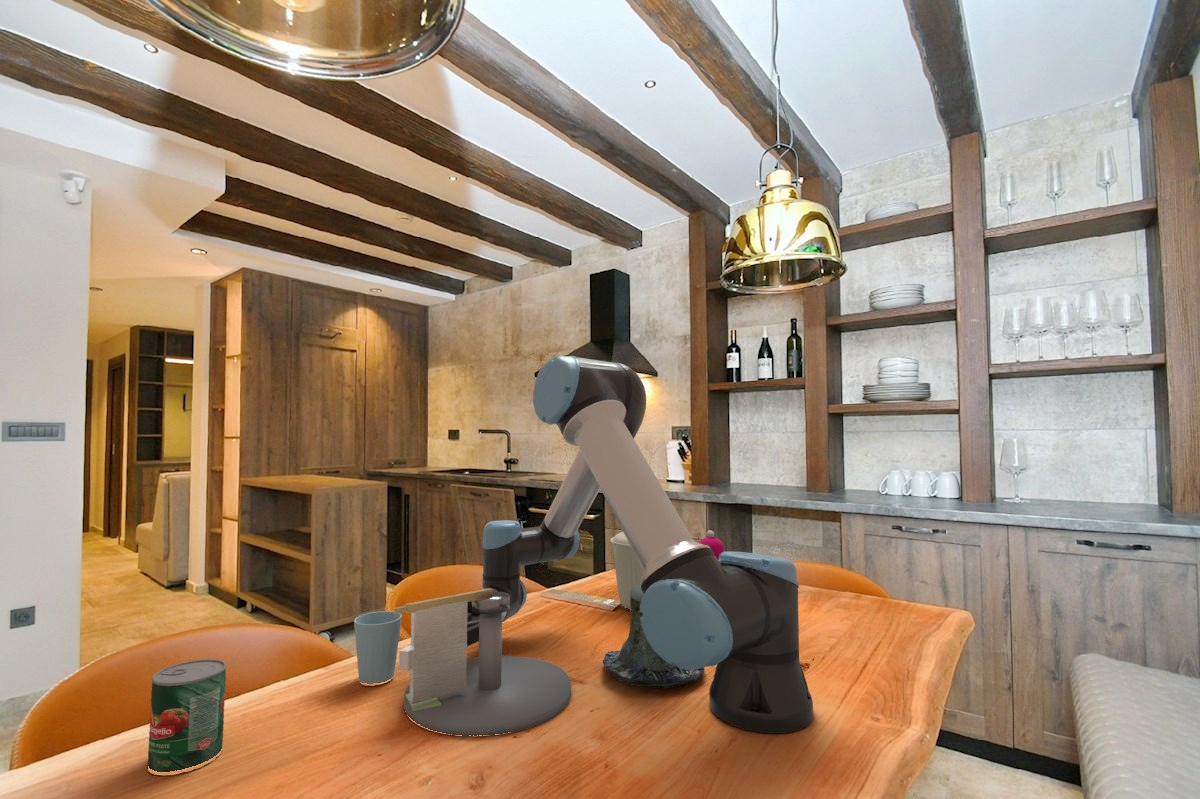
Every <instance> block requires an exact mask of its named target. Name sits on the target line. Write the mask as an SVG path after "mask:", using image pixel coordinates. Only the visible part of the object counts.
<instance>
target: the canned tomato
mask: <svg viewBox="0 0 1200 799" xmlns="http://www.w3.org/2000/svg"><path fill="white" fill-rule="evenodd" d="M226 670H227V663H226V661H224V660H220V659H213V658H211V659H210V658H205V659H195V660H189V661H184V662H183V661H182V662H180V663H176V664H173V665H169V666H166V667H165V668H162V669H161V670H158V671H156V673H154V674H152V676H151V690H150V691H151V692H150V693H151V694H150V696H151V698H150V714H149V715H150V716H149V717H150V718H149V732H148V737H149V738H148V746H147V748H148V752H147V757H148V758H147V766H149V768H150V769H152V770H154V771H157V772H170V771H175V770H176V771H177V770H182V769H185V768H189V767H192V766H196V765H198V764H201V763H203V762H205V761H208V760H209V759H211V758H213V757H214V756H216V755H217V754H218V753H219V752H220V751H221V749H222V746H223V741H224V723H225V722H224V721H225V720H224V718H225V704H226V703H225V700H226V696H225V694H226V681H227V680H226Z"/></svg>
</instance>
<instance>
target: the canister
mask: <svg viewBox="0 0 1200 799" xmlns="http://www.w3.org/2000/svg"><path fill="white" fill-rule="evenodd" d="M609 541H610V543H611V545H612V547H613V548H612V551H613V559H614V560H613V561H614V568H615V577H616V586H617V593H618V598H619V601H620V604H621V603H622V604H621V605H622V606H624V607H623V608H625V607H626V608H628V609H631V607H630V598H631V596H630V593H631V590H632V589H633V588H634V587H636V586H638V585H640V583H641V579H642V576H643V569H642V567H641V565H640V563H639V561H638V559H637V557H636V555H635V553H634V552H633V550H632V548H631V546H630V544H629V542H628V540H627V538H626V536H625V534H624V532H623V531H622V532H619V533H617V534H615V535H614V536H613V537H611V538H610V540H609ZM626 608H625V609H626ZM628 609H627V610H628Z"/></svg>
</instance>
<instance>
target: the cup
mask: <svg viewBox="0 0 1200 799" xmlns="http://www.w3.org/2000/svg"><path fill="white" fill-rule="evenodd" d="M402 618H403V614H402V613H400V614H394V610H393V611H390V610H389V611H388V610H387V611H386V610H383V611H382V610H381V611H374V612H368V613H364V614H360V615H359V616H357V617H355V618H354V620H353V626H354V627H353V628H354V634H355V636H354V637H355V647H356V659H357V672H358V681H360V682H362V683H367V684H373V683H381V682H385V681H387V680H389V679H391V678H392V677H393V676H394V677H395V670H396V663H397V655H398V648H399V639H400V635H401V627H402V626H401V625H402ZM360 682H359V683H360Z"/></svg>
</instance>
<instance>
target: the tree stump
mask: <svg viewBox="0 0 1200 799" xmlns="http://www.w3.org/2000/svg"><path fill="white" fill-rule="evenodd" d="M643 595H644V594H643V592H642V590H641V588H640V585H638V586H636V587H634V588H633V589H632V590H631V593H630V596H631V598H630V607H631V611H630V614H629V615H630V616H629V617H630V618H629V632H628V637H627V639H626V640H625V641H624V642H623V644H622V646H621V648H620V650H614V651H613V650H611V651H607V652H606V653H605V655H604V657H603V659H602V664H603V668H604V669H605V670H606V671H607V672H609V673H610V675H612V676H614V677H615V678H616V679H617V680H618V681H619V682H620V683H622V684H623V683H625V684H624V685H631V684H633V685H632V686H639V685H641V686H640V687H646V686H649V687H648V688H654V687H656V688H655V689H662V688H666V689H670V687H671V688H675V687H678V685H679V686H683V685H687V684H691V682H692V683H694V682H697V680H698V678H699V679H700V678H701V676H702V674H703V673H704V672H705V667H703V668H700V669H696V670H685V669H680V668H678V667H677V666H674V665H671V664H669V663H667V662H666V661H665V660H663V659H662V658H661V657H660V656H659V655H658V654H657V653H656V652H655V651H654V649H653V648H652V647H651V645H650V644H649V642H648V640H647V638H646V636H645V634H644V632H643V629H642V625H641V620H640V618H641V616H642V614H643V613H642V612H641V611H640V604H641V600H642V598H643ZM686 683H687V684H686ZM674 686H675V687H674Z"/></svg>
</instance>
